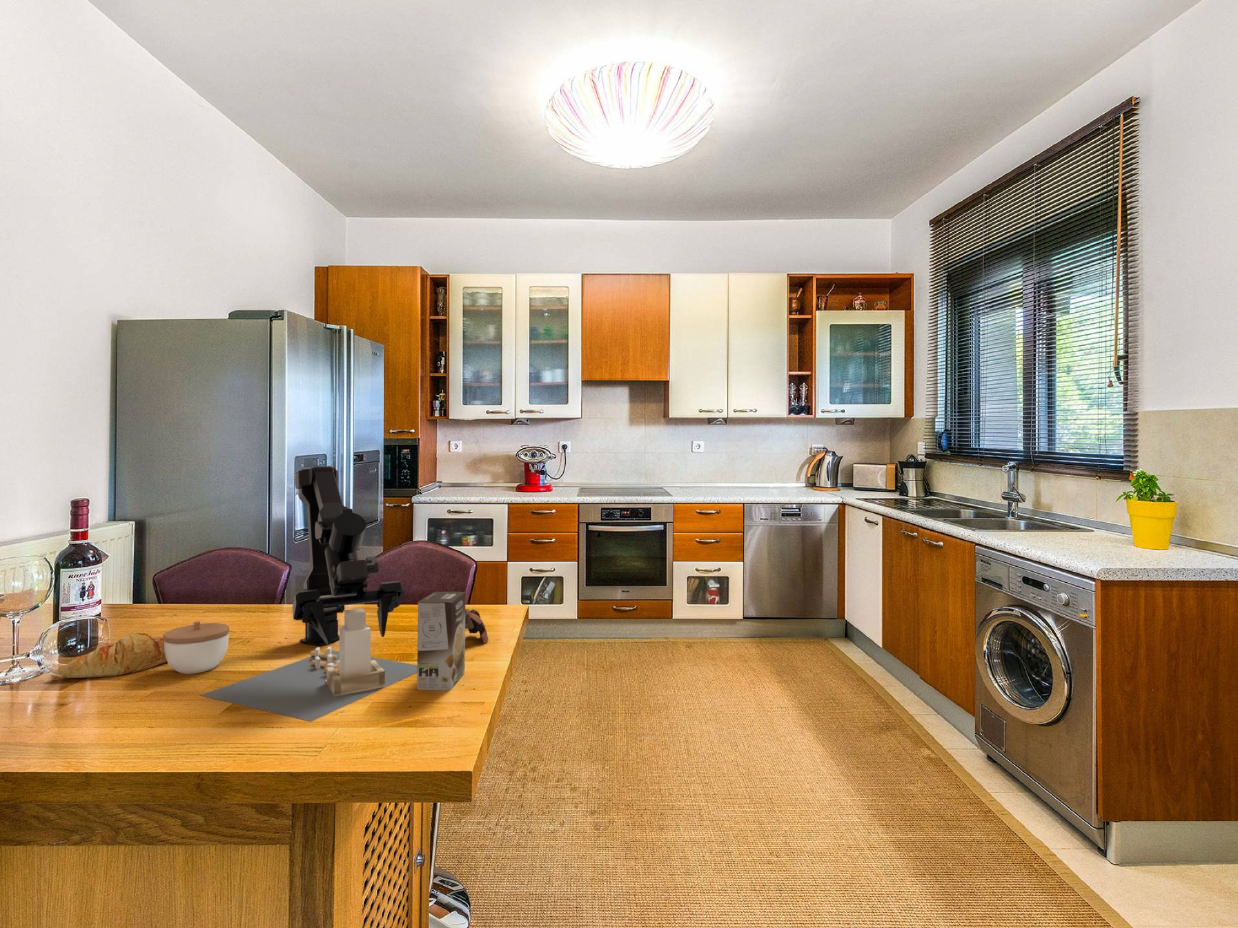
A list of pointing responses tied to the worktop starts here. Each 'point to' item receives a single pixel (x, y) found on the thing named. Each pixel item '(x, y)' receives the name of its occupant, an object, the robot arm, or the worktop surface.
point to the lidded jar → (196, 646)
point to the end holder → (356, 680)
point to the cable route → (328, 656)
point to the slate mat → (301, 689)
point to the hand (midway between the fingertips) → (356, 639)
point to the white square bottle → (354, 644)
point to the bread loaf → (118, 658)
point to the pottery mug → (475, 624)
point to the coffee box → (441, 640)
